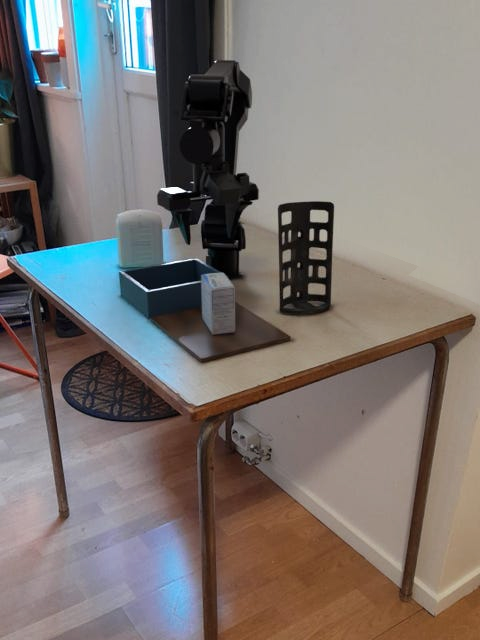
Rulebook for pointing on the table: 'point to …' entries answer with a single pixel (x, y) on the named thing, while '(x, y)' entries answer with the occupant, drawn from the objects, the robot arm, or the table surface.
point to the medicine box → (218, 303)
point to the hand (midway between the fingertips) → (209, 241)
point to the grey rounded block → (139, 238)
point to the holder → (304, 256)
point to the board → (205, 346)
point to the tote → (165, 287)
